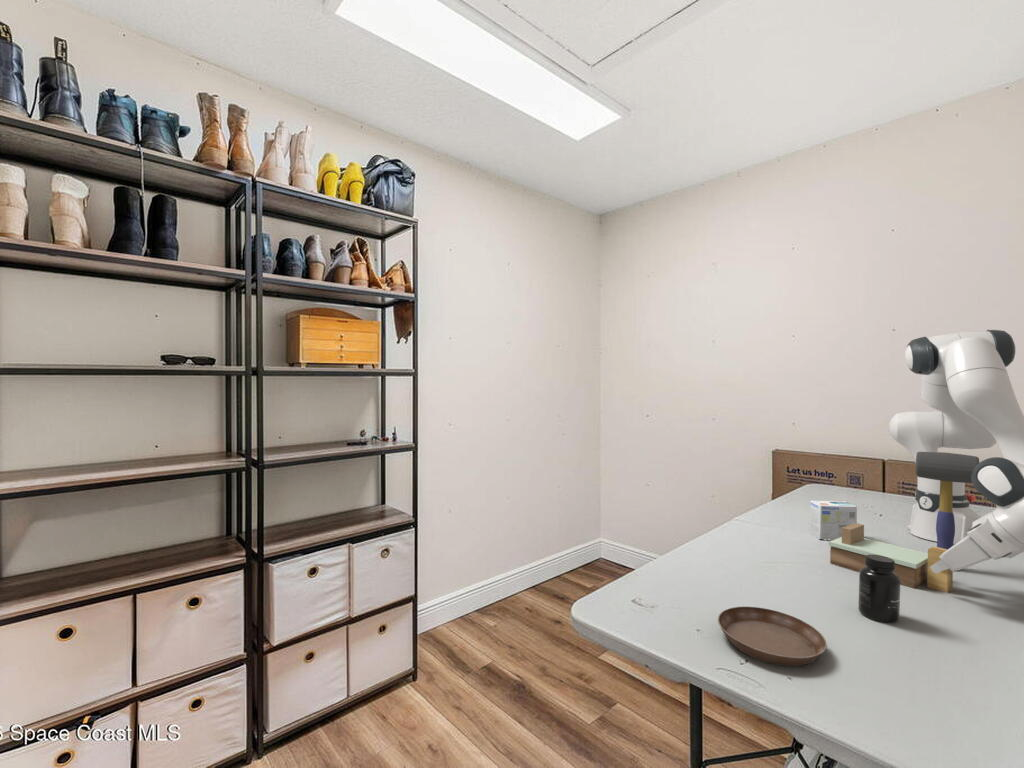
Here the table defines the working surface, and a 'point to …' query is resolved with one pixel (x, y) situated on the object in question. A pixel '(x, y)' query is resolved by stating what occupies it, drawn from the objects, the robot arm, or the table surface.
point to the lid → (877, 547)
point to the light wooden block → (943, 578)
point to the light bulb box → (831, 518)
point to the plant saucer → (772, 635)
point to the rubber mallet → (945, 486)
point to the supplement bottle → (879, 589)
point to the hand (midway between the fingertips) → (940, 565)
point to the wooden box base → (857, 562)
